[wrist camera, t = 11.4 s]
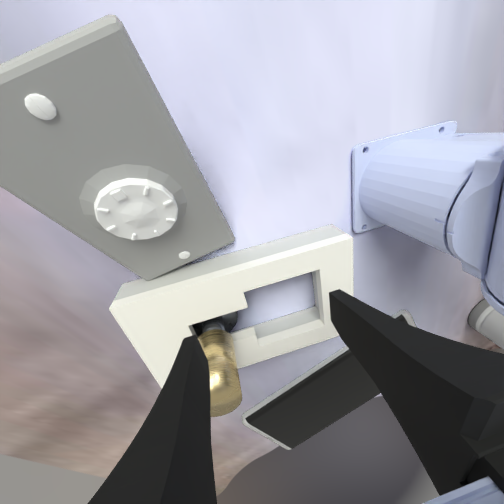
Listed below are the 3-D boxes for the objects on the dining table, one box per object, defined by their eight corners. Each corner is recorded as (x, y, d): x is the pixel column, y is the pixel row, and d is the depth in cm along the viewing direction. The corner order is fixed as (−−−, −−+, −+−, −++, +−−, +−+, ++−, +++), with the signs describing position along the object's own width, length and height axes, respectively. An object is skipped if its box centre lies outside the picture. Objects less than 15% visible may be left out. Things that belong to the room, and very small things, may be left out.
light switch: (148, 291, 20) (-122, 132, 8) (142, 240, 23) (-54, 71, 11) (239, 249, 20) (117, 22, 8) (220, 204, 23) (113, -6, 11)
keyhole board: (331, 224, 22) (353, 237, 19) (336, 309, 27) (353, 331, 24) (122, 283, 21) (108, 309, 18) (169, 362, 26) (164, 392, 23)
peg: (239, 291, 24) (260, 376, 15) (230, 328, 25) (245, 421, 17) (190, 288, 22) (185, 378, 14) (185, 326, 24) (177, 426, 16)
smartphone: (424, 352, 36) (434, 361, 35) (285, 440, 39) (289, 453, 38) (400, 303, 30) (411, 312, 29) (238, 412, 33) (240, 425, 32)
